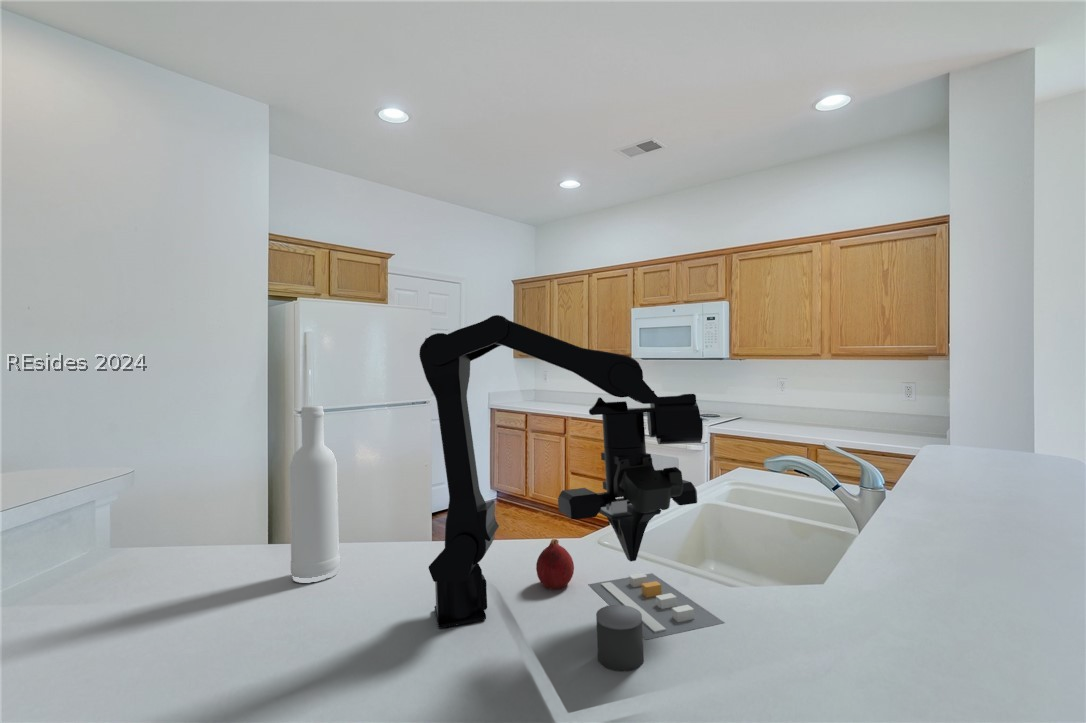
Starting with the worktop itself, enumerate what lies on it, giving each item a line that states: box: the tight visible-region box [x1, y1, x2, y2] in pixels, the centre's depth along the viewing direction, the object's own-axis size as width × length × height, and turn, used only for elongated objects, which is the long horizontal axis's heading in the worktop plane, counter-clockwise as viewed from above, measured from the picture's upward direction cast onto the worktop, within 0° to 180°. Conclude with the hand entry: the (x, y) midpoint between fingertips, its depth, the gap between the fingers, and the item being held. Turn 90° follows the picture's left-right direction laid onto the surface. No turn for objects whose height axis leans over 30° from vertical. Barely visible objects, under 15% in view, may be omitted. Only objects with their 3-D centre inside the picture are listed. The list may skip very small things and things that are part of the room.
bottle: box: [289, 405, 341, 578], centre depth 89 cm, size 8×8×30 cm
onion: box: [535, 537, 575, 590], centre depth 76 cm, size 6×6×8 cm
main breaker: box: [642, 581, 662, 597], centre depth 71 cm, size 2×1×1 cm, turn 107°
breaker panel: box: [587, 572, 726, 641], centre depth 69 cm, size 11×18×2 cm, turn 17°
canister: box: [595, 605, 645, 673], centre depth 55 cm, size 5×5×6 cm
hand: (631, 560), depth 68 cm, fingers closed
